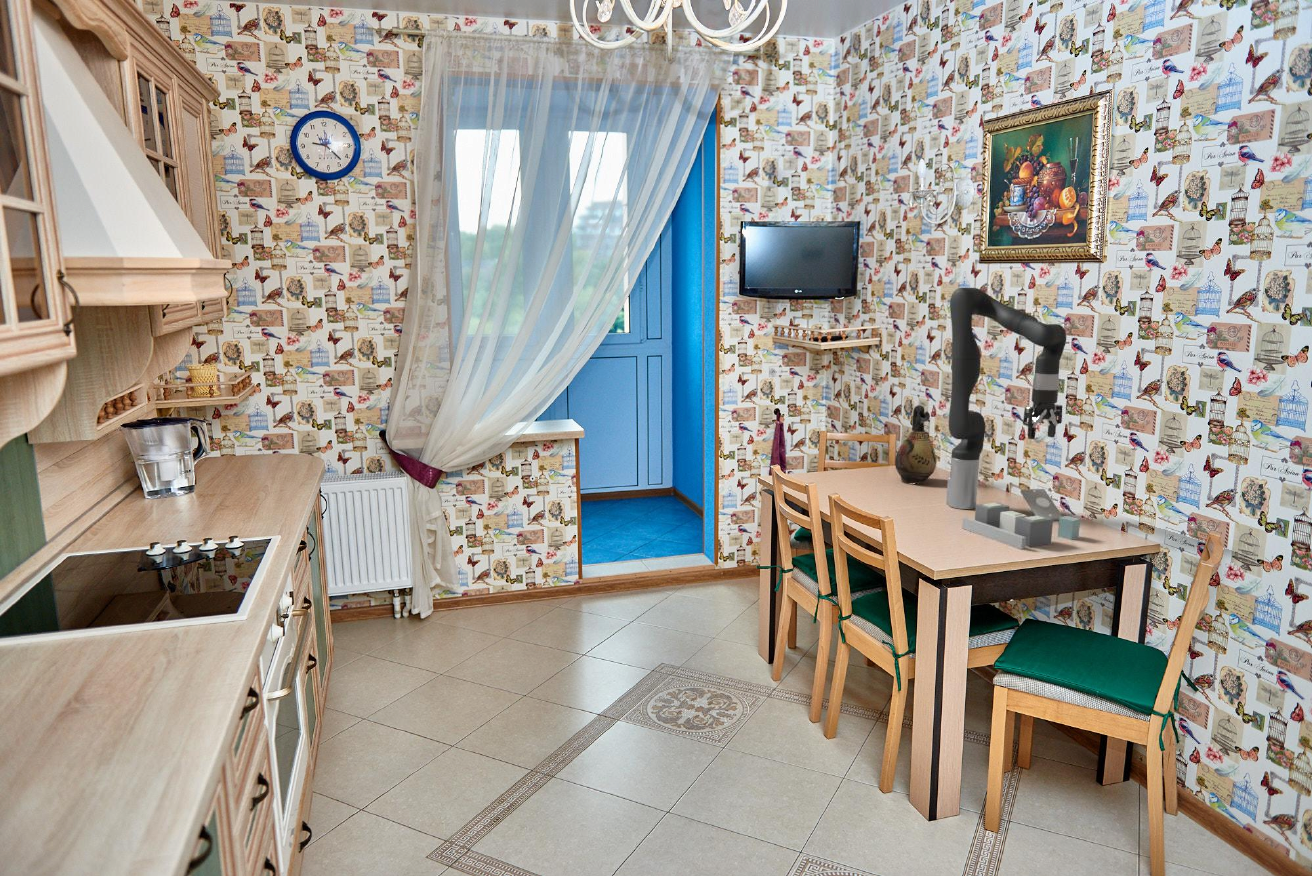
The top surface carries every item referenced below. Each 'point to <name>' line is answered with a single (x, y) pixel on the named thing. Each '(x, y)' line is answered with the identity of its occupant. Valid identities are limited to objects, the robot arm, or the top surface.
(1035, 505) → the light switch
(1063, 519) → the block
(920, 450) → the ceramic jug
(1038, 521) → the rail mount
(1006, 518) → the module
